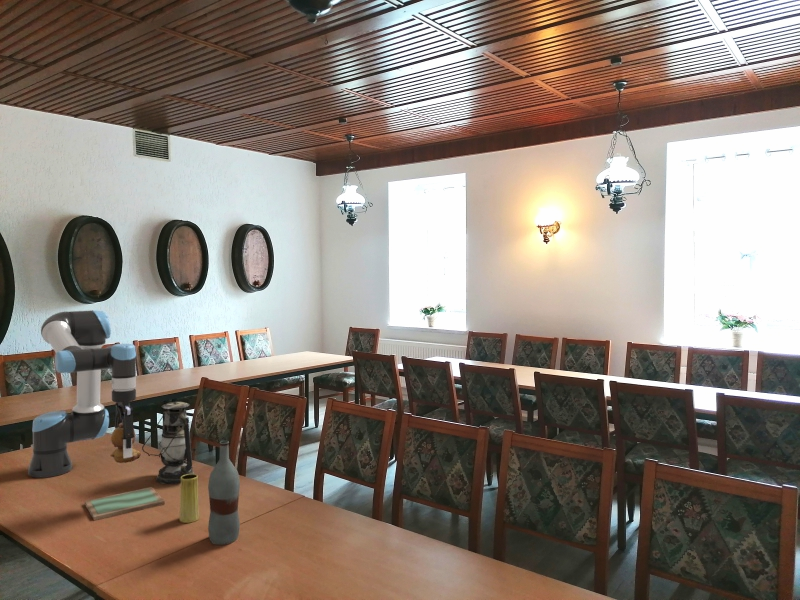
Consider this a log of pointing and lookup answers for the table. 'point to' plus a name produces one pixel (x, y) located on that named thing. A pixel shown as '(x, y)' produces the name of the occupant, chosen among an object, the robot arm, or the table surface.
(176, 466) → the lantern
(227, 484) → the bottle
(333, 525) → the table surface
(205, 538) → the table surface
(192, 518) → the vase
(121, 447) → the figurine
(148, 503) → the green framed board
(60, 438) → the robot arm
